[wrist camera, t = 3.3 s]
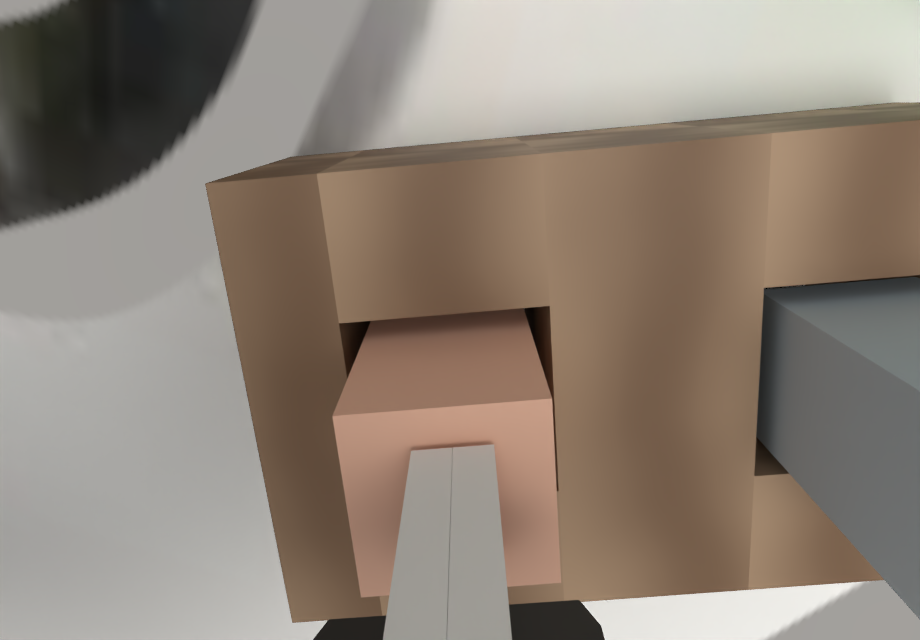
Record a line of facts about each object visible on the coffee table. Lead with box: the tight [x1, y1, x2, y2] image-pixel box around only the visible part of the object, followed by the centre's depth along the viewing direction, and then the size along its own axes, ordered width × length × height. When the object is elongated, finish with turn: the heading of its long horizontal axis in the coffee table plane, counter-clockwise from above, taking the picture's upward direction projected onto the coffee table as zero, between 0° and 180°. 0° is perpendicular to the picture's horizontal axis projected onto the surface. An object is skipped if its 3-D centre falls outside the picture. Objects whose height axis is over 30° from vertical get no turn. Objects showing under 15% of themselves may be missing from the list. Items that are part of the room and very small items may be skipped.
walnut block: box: [205, 103, 920, 623], centre depth 20 cm, size 20×12×8 cm, turn 95°
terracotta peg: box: [332, 308, 561, 597], centre depth 16 cm, size 4×4×8 cm
